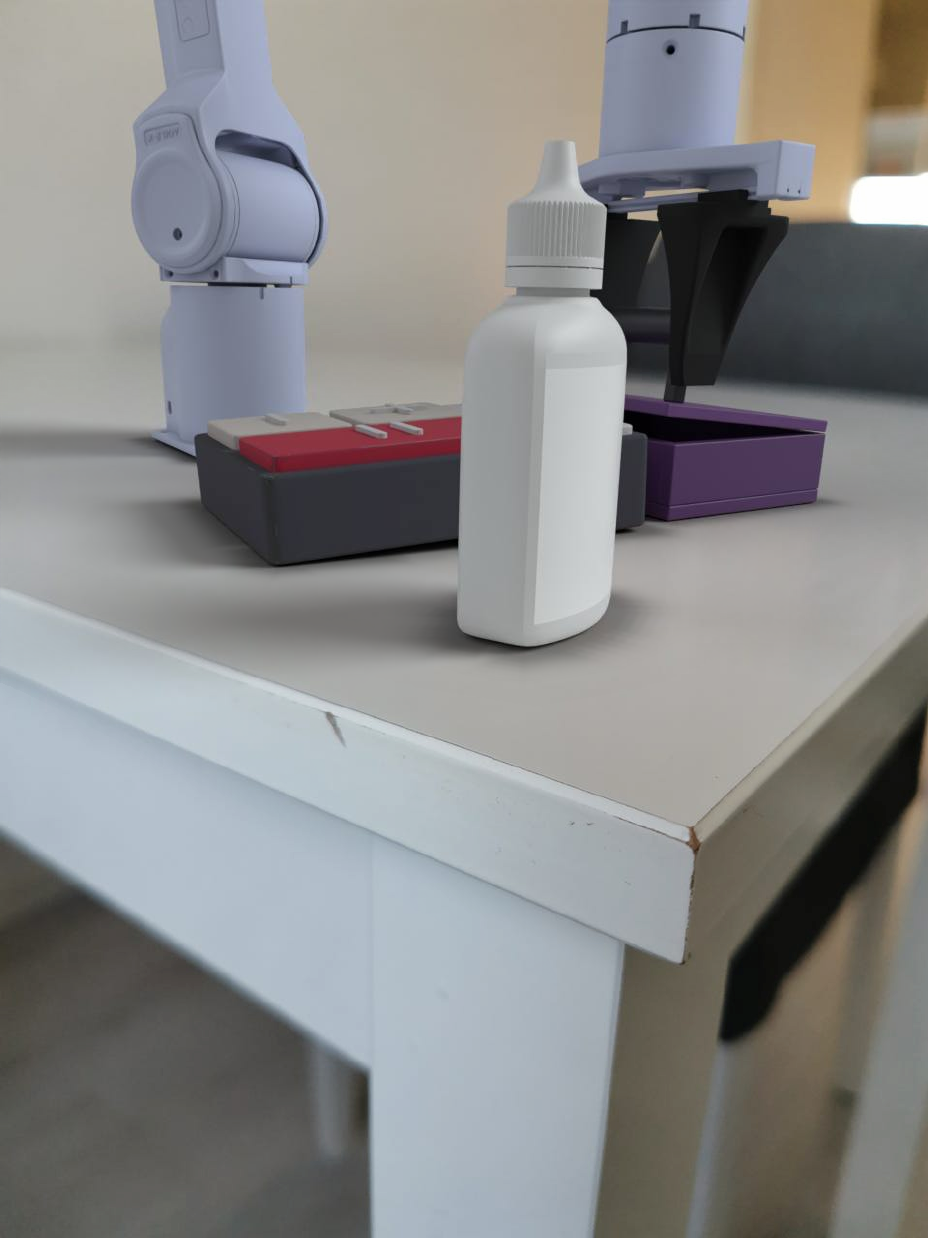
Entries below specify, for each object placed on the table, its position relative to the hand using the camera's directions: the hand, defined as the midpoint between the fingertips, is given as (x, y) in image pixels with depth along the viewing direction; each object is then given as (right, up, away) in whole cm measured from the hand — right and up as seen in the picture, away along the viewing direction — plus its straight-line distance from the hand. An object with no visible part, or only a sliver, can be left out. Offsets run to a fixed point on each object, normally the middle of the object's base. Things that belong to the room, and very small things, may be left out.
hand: (646, 379), depth 45 cm
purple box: (+1, -5, +2) cm, 5 cm away
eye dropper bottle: (-6, -11, -18) cm, 22 cm away
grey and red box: (-10, -7, -6) cm, 14 cm away
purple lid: (0, -1, +1) cm, 1 cm away
